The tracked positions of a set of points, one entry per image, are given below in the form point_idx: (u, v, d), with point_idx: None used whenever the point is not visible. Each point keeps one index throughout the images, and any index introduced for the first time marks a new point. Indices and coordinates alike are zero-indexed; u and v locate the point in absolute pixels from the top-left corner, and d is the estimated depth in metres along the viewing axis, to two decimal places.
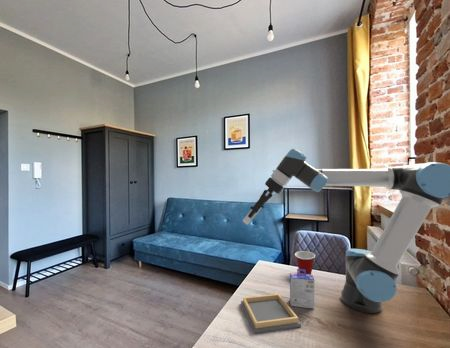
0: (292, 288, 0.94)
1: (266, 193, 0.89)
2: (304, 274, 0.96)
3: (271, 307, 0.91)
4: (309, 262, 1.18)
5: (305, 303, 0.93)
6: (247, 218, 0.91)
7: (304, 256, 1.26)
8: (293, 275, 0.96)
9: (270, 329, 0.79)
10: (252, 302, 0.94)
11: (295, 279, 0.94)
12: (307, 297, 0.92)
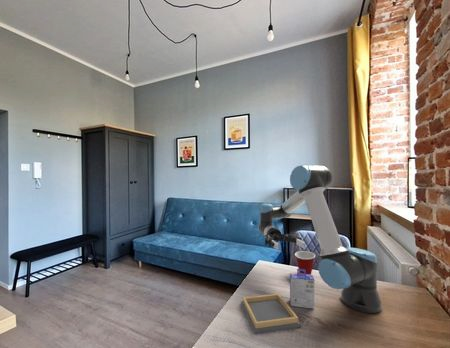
0: (292, 288, 0.94)
1: (265, 238, 1.18)
2: (304, 274, 0.96)
3: (271, 307, 0.91)
4: (309, 262, 1.18)
5: (305, 303, 0.93)
6: (275, 246, 1.05)
7: (304, 256, 1.26)
8: (293, 275, 0.96)
9: (270, 329, 0.79)
10: (252, 302, 0.94)
11: (295, 279, 0.94)
12: (307, 297, 0.92)
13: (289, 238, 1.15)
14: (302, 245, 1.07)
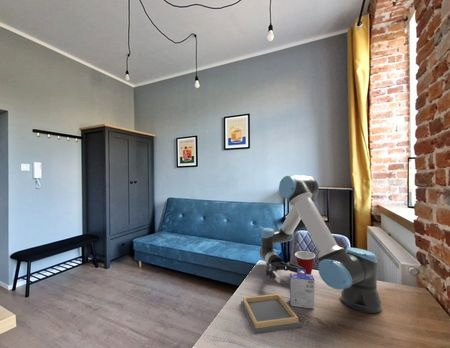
0: (292, 288, 0.94)
1: (266, 266, 1.16)
2: (304, 274, 0.96)
3: (271, 307, 0.91)
4: (309, 262, 1.18)
5: (305, 303, 0.93)
6: (276, 278, 1.04)
7: (304, 256, 1.26)
8: (293, 275, 0.96)
9: (270, 329, 0.79)
10: (252, 302, 0.94)
11: (295, 279, 0.94)
12: (307, 297, 0.92)
13: (291, 267, 1.13)
14: None
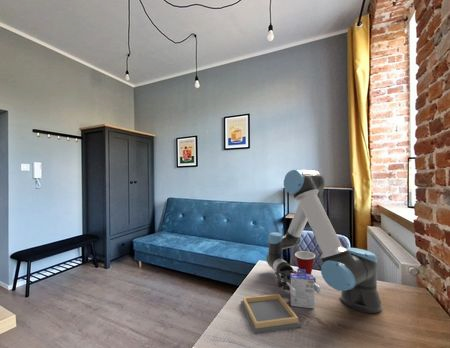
0: None
1: (276, 276, 1.05)
2: (304, 274, 0.96)
3: (271, 307, 0.91)
4: (309, 262, 1.18)
5: (305, 303, 0.93)
6: (291, 290, 0.92)
7: (304, 256, 1.26)
8: (293, 275, 0.96)
9: (270, 329, 0.79)
10: (252, 302, 0.94)
11: (295, 279, 0.94)
12: (307, 297, 0.92)
13: None
14: (317, 290, 0.93)
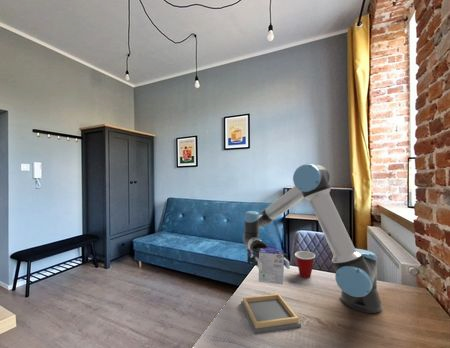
0: None
1: (247, 253, 1.00)
2: (274, 249, 0.90)
3: (271, 307, 0.91)
4: (309, 262, 1.18)
5: (273, 279, 0.87)
6: (258, 265, 0.87)
7: (304, 256, 1.26)
8: (262, 250, 0.90)
9: (270, 329, 0.79)
10: (252, 302, 0.94)
11: (263, 253, 0.88)
12: (275, 273, 0.87)
13: None
14: (286, 265, 0.87)
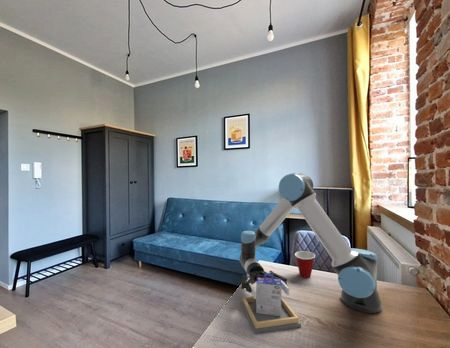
0: (257, 294, 0.87)
1: None
2: (271, 279, 0.89)
3: None
4: (309, 262, 1.18)
5: (271, 310, 0.85)
6: (252, 292, 0.86)
7: (304, 256, 1.26)
8: (259, 280, 0.89)
9: (270, 329, 0.79)
10: (252, 302, 0.94)
11: (261, 284, 0.86)
12: (273, 304, 0.85)
13: None
14: (286, 291, 0.87)
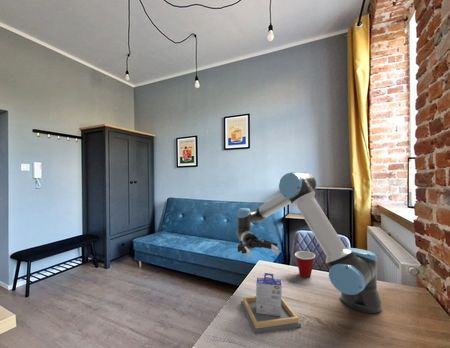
0: (257, 294, 0.87)
1: None
2: (271, 279, 0.89)
3: None
4: (309, 262, 1.18)
5: (271, 310, 0.85)
6: (247, 253, 1.00)
7: (304, 256, 1.26)
8: (259, 280, 0.89)
9: (270, 329, 0.79)
10: (252, 302, 0.94)
11: (261, 284, 0.86)
12: (273, 304, 0.85)
13: (264, 244, 1.10)
14: (276, 251, 1.01)
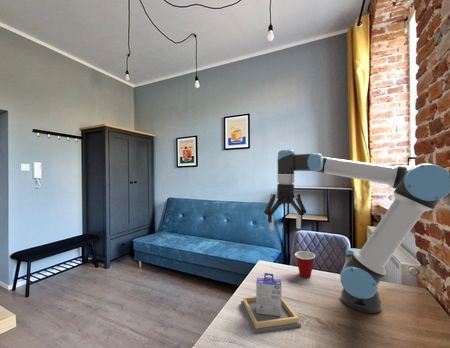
0: (257, 294, 0.87)
1: (271, 196, 1.01)
2: (271, 279, 0.89)
3: None
4: (309, 262, 1.18)
5: (271, 310, 0.85)
6: (270, 224, 1.01)
7: (304, 256, 1.26)
8: (259, 280, 0.89)
9: (270, 329, 0.79)
10: (252, 302, 0.94)
11: (261, 284, 0.86)
12: (273, 304, 0.85)
13: (294, 207, 1.03)
14: (297, 226, 1.04)
